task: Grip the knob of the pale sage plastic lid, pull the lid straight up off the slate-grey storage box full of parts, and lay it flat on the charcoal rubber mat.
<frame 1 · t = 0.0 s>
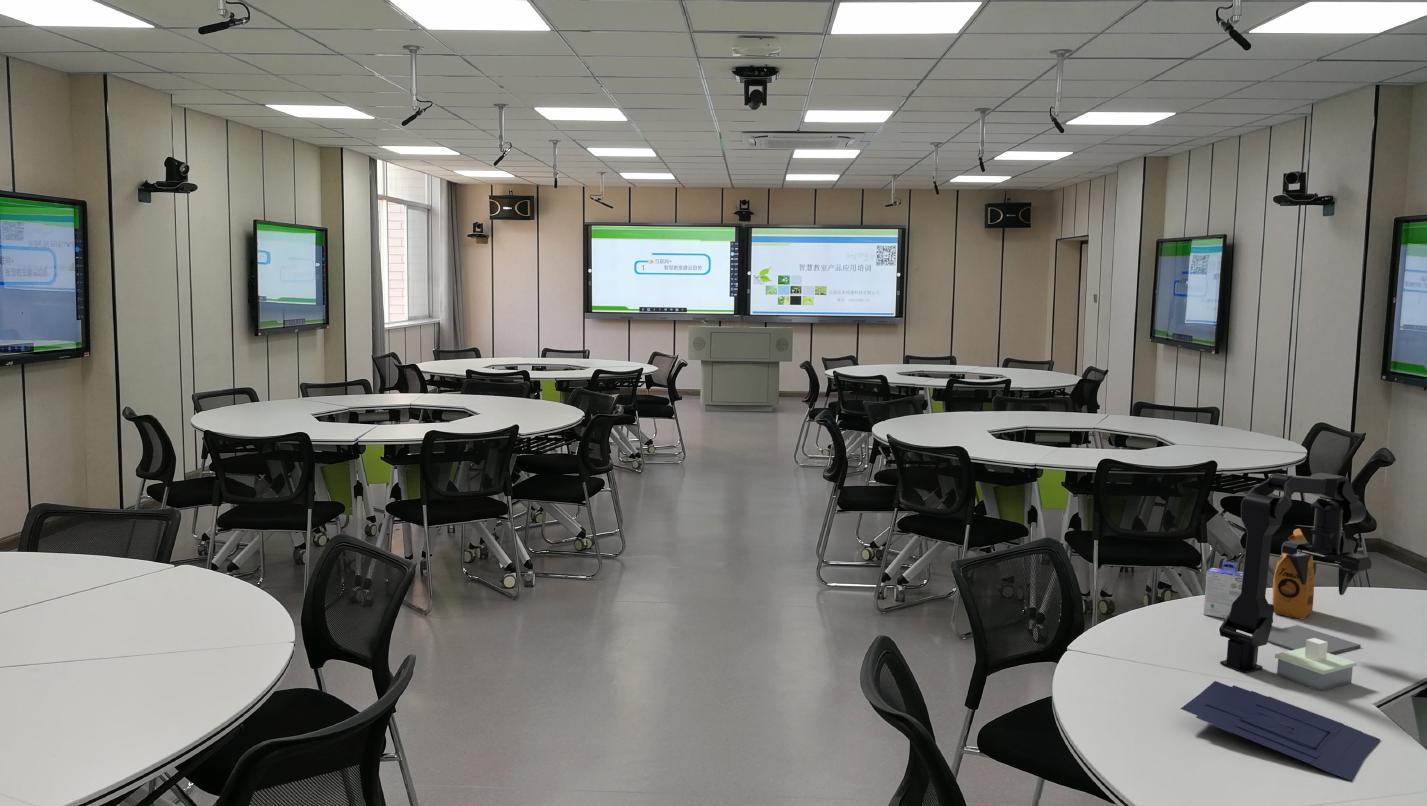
hand: (1322, 589, 245), 15 cm above the table, fingers open, 9 cm apart
ink cartridge box: (1225, 617, 270), on the table
coffee package: (1290, 612, 275), on the table
lid: (1314, 666, 226), point 3 cm above the table, touching storage box
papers: (1277, 737, 197), on the table
storage box: (1313, 679, 226), on the table
rubber mat: (1305, 642, 251), on the table
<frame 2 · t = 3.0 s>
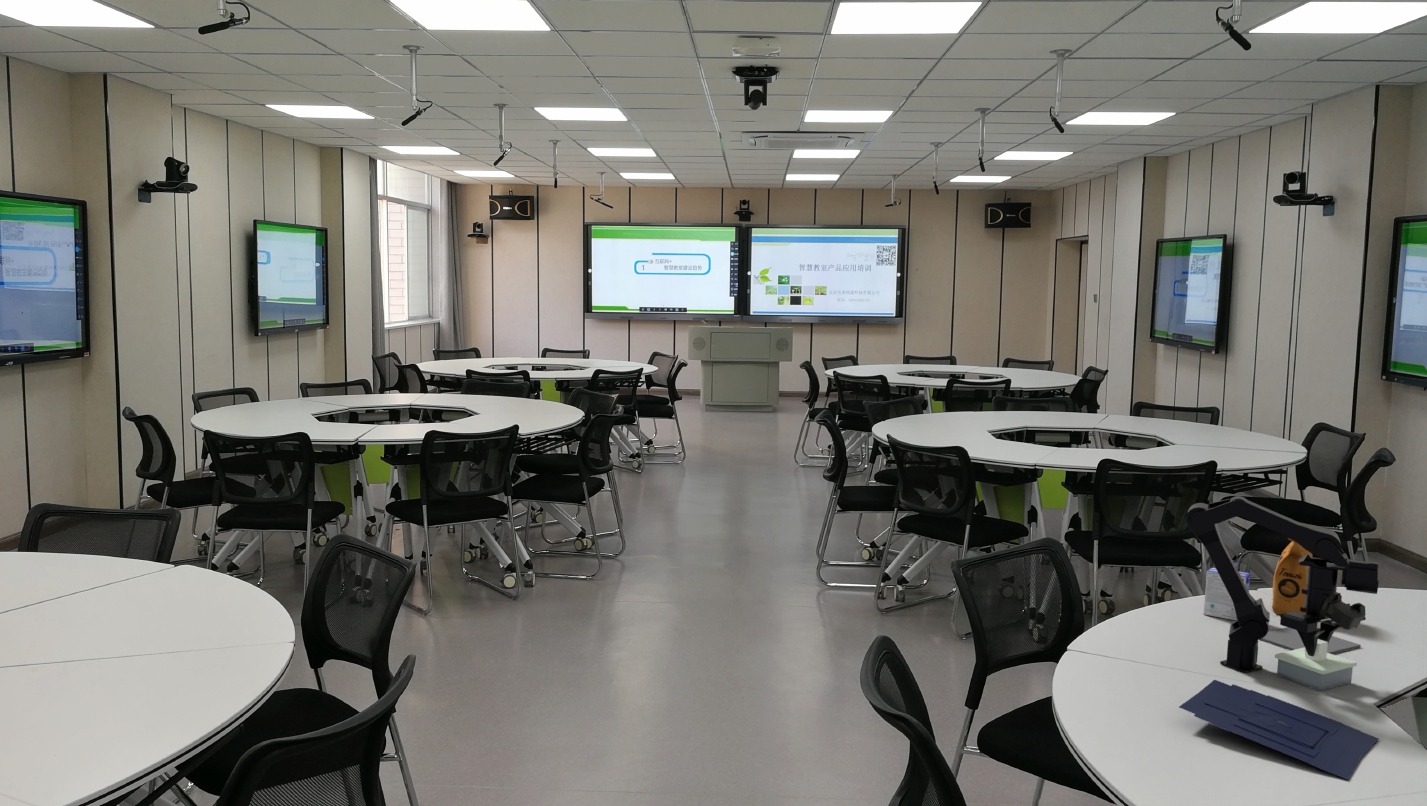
hand: (1315, 654, 226), 6 cm above the table, fingers closed on lid, 3 cm apart
lid: (1314, 666, 226), point 3 cm above the table, touching gripper, storage box
everything else where it was.
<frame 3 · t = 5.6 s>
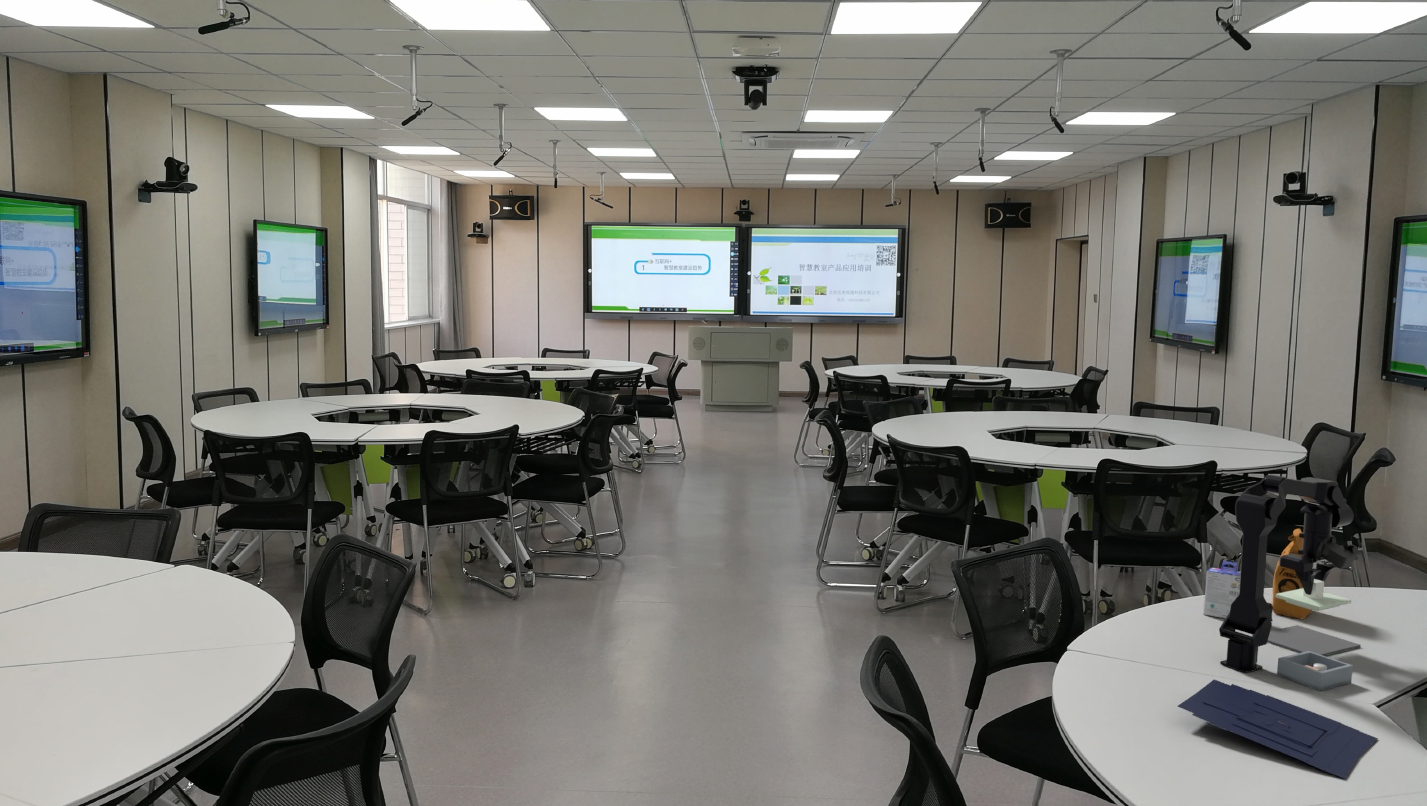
hand: (1312, 593, 245), 13 cm above the table, fingers closed on lid, 3 cm apart
lid: (1312, 604, 246), point 11 cm above the table, touching gripper
everything else where it was.
when the fingers open (5 cm above the table, at t = 8.2 s): lid drops 1 cm, resting on rubber mat.
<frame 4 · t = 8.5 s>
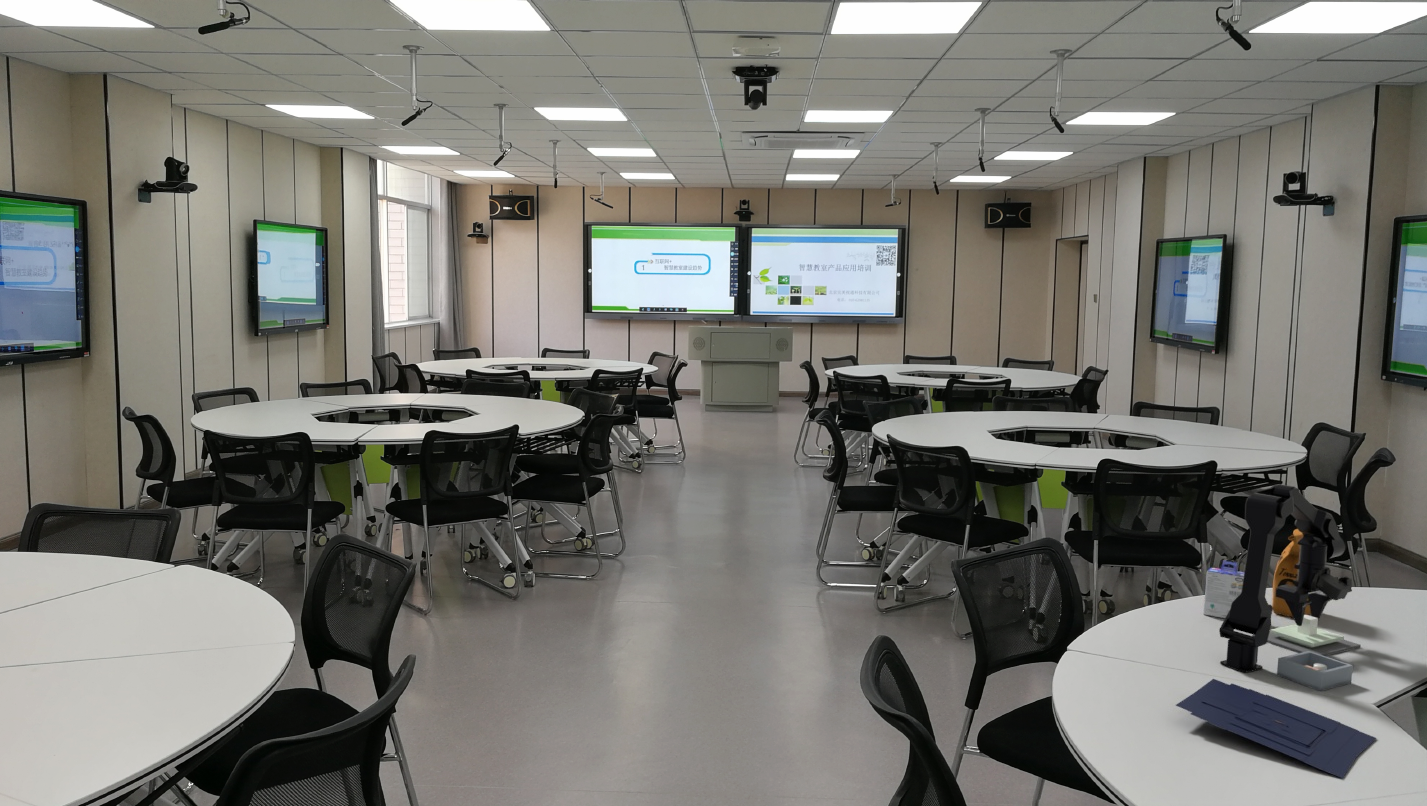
hand: (1307, 623, 250), 5 cm above the table, fingers open, 6 cm apart
lid: (1306, 640, 250), point 1 cm above the table, touching rubber mat
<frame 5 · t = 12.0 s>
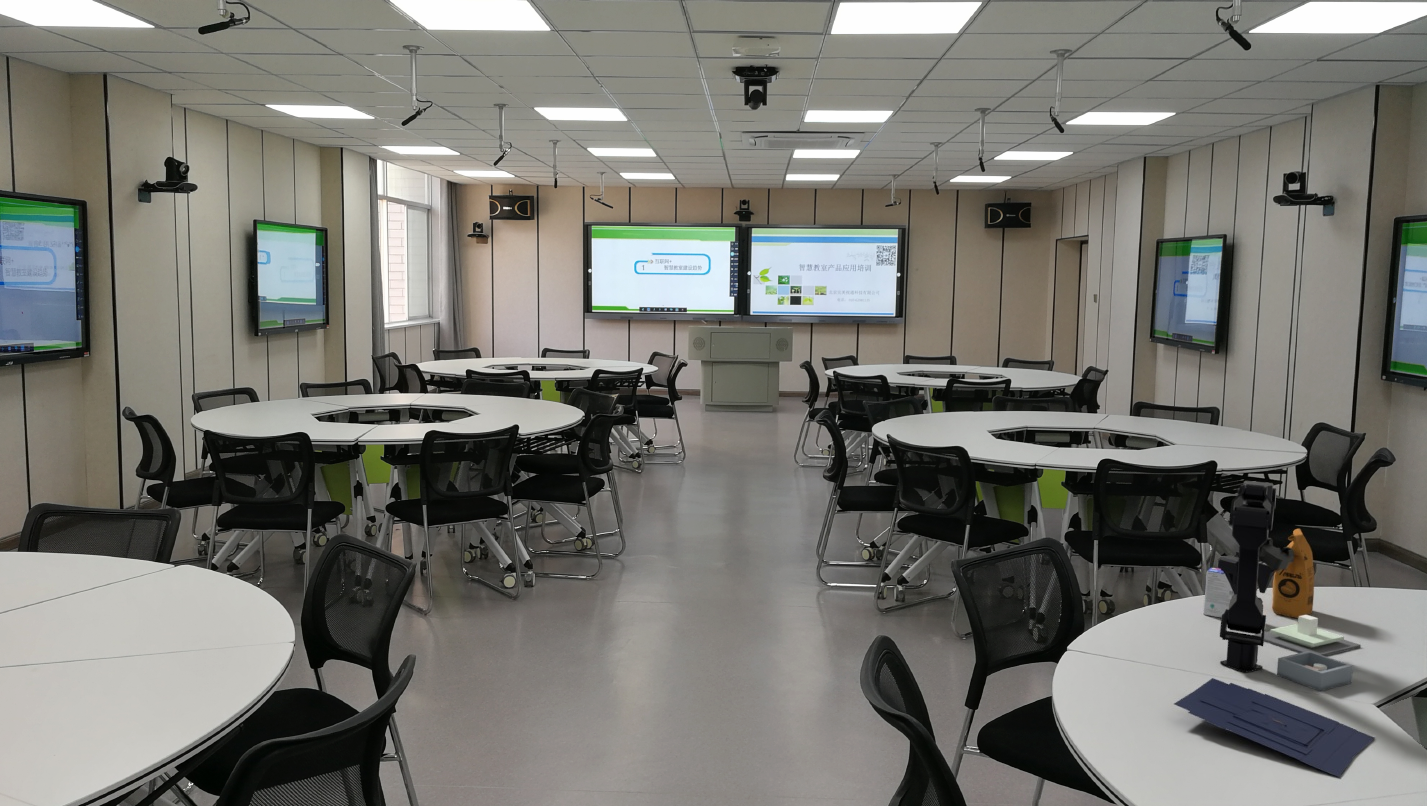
hand: (1250, 595, 248), 12 cm above the table, fingers open, 9 cm apart
at the end: lid inside the target area on the rubber mat (0.2 cm from its centre), point 0.6 cm above the rubber mat's base; lid tilted 0°; the gripper is holding nothing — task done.
